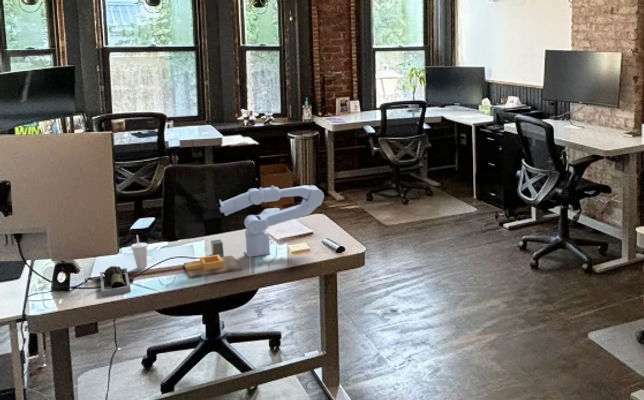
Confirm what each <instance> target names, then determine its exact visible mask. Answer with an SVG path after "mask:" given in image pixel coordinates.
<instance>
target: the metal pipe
mask: <svg viewBox="0 0 644 400" xmlns="http://www.w3.org/2000/svg"><path fill="white" fill-rule="evenodd" d="M122 269H123V268H121V267H120V266H117V265H115V266H114V265H113V266H112V265H111V266H109V267H108V268H106V269H105V271H104V272H105V273H104V275H105V277H104V281H105V283H106V284H110V285H111V286H110V289H112V288H119V287H125V286H126V285H125V284H126V283H125V281H124V278H123V275H124V274H123V272H122Z"/></svg>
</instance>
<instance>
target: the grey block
mask: <svg viewBox="0 0 644 400" xmlns="http://www.w3.org/2000/svg"><path fill="white" fill-rule="evenodd" d="M210 246H211V256H213V255H220V257H225V256H224V254H225V253H224V243H223V241H222V240H221V239H214V240H210Z"/></svg>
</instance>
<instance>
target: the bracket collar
mask: <svg viewBox="0 0 644 400" xmlns="http://www.w3.org/2000/svg"><path fill="white" fill-rule="evenodd" d="M199 261H200V262H199V263H192V264H187V268H188V270H194V269H200V268H203V269H204V270H210V269H216V268H222V267H224V262H223V260H222V258H221V257H220V255H207V256H201V257H199Z"/></svg>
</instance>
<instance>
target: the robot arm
mask: <svg viewBox="0 0 644 400" xmlns="http://www.w3.org/2000/svg"><path fill="white" fill-rule="evenodd" d="M287 197H301V198H302V200H301V203H300V204H298V205H293V206H290V207H287V208H284V209H281V210H276V211H273V212H269V213H267V214H257V215H256V214H255V215H254V214H249V215H247V216H246V217H245V218H244V221H243V224H244V226H245V228H246V229H245V232H244V233H245V246H246V249H245V250H243V252H244V253H245V255H246V256H247V257H248V258H251V257H257V256H263V255H270V254H271V250H270V237H269V234H268V231H266V230H268V228H269V227H271V226H275V225H278V224H282V223H286V222H289V221H292V220H295V219H299V218H302V217H306V216H309V215H310V214H312V213H313V212H314V210H315V209H317V208H318V207H320V206H321V205H322V204H323V201H324V200H325V199H324V198H325V194H324V192H323V190H321V189H319V188H318V187H317V186H316V185H313V184H310V185H305V184H304V185H300V186H294V187H287V188H286V187H285V188H282V189H280V188H279V187H277V186H274V185H270V187H259V189H258V188H255V187H254V188H249V189H248V190H247V192H244V193H240V194H239V195H236V196H234V197H231V198H229V199H226V200H224V201H222V200H221V199H219V204H220V207H219V205H218V203H216V204H215V205H214V206H213V207H212V208H211V209H209V210H207V211H206V212H204V213H203V214H202V218H203V220H209V219H215V218H222V217H223V216H222V213H223V215H224V216H225V217H227V216H229V215H231V214H233V213H236V212H238V211H241V210H242V209H246V208H248V207H250V206H253V205H260V204H262V203H267V202H276V201H278V202H279V200H280V199H281V198H287Z"/></svg>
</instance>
